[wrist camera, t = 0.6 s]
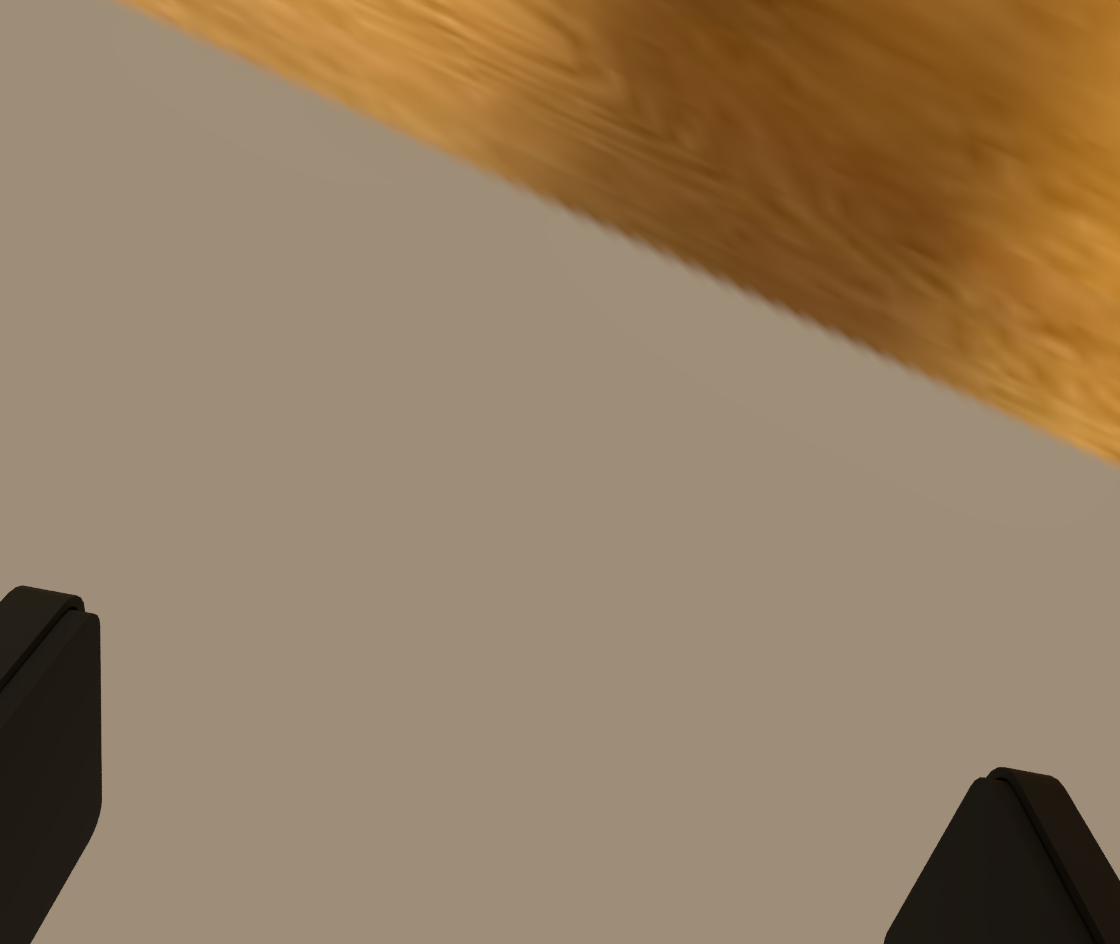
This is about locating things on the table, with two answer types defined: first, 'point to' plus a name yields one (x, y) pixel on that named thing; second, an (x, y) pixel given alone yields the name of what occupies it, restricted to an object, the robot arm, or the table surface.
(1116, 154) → the table surface
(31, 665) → the robot arm
